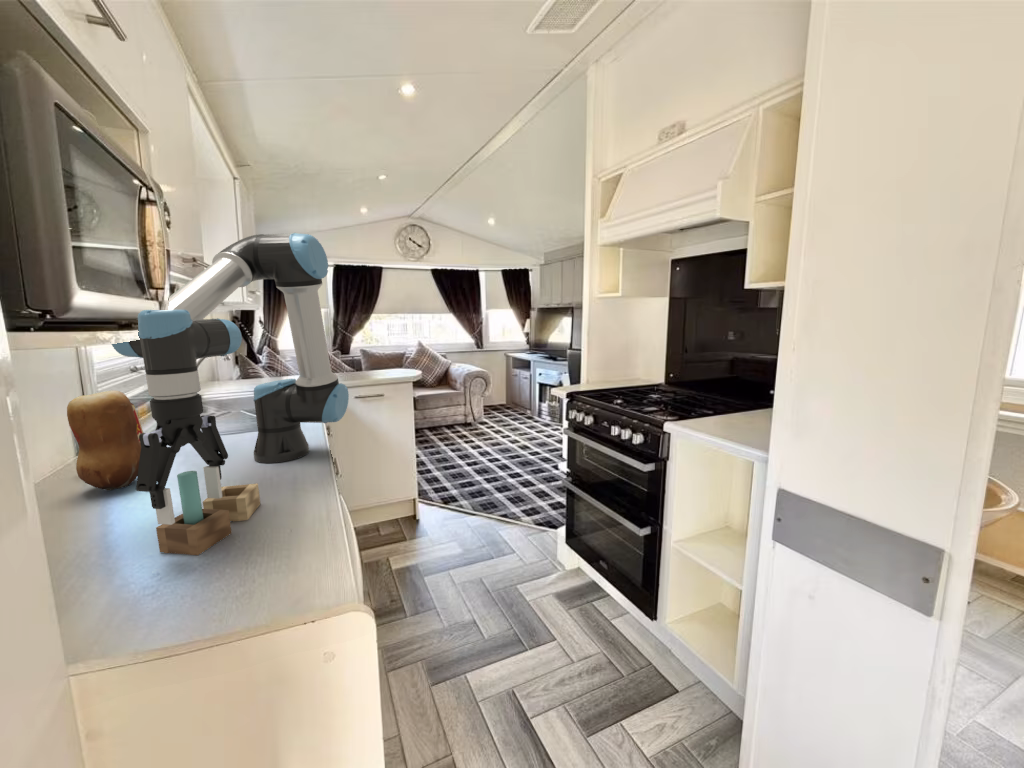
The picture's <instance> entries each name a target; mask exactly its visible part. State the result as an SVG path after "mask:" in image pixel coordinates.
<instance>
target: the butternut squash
mask: <svg viewBox="0 0 1024 768" xmlns="http://www.w3.org/2000/svg"><path fill="white" fill-rule="evenodd" d="M128 398H129V397H128V396H127V395H126V394H125V393H124V392H122V391H120V390H107V391H102V392H97V393H96V392H95V393H91V394H89V395H87V394H86V395H85V394H84V395H80V396H77V397H75V398H73V399H71V400H70V401H69V402H68V404H67V407H66V417H67V422H68V426H69V428H70V430H71V432H72V434H73V436H74V438H75V440H76V442H77V445H78V454H77V458H76V463H75V465H76V466H75V470H76V473H77V476H78V478H79V479H80V480H81V481H83V483H85V484H87V485H89V486H91V487H94V488H96V489H99V490H104V491H107V492H109V491H114V490H117V489H118V490H119V489H123V488H127V487H129V486H130V485H132V483H133V482H134V481H136V480H137V475H138V467H139V460H140V452H141V444H140V442H139V439H138V435H137V422H136V418H135V414H134V411H133V407H132V405H131V400H130V398H129V399H128Z"/></svg>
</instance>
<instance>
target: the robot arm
mask: <svg viewBox="0 0 1024 768" xmlns="http://www.w3.org/2000/svg"><path fill="white" fill-rule="evenodd" d="M211 261H212V262H211V264H210V265H209V266H207V267H206V268H205V269H204V270H202V271H200V272H199V273H198V274H197V275H196V276H194V277H192V279H189V280H188V281H187V282H186V283H185V284H184V285H183V286H181V287H180V288H179V289H177V290H176V291H175V292H174V293H172V294H171V295H170V296H168V297H169V306H168V310H152V309H144V310H140V313H137V320H138V331H139V332H138V336H139V338H140V340H136V341H130V342H123V343H117V344H111V346H112V347H113V349H114V350H115V351H116V352H117V353H118V354H119V355H122V356H124V357H127V358H140V359H143V363H144V364H143V365H144V371H145V377H146V379H145V380H146V385H147V391H148V396H150V397H152V398H151V399H150V400H149V404H150V412H151V417H152V419H153V420H154V421H155V422H156V427H155V430H153V431H151V432H143V433H141V434H140V435H139V439H140V444H141V452H140V460H139V467H138V475H137V477H136V483H135V484H136V486H135V490H136V491H137V492H143V493H144V492H145V493H149V496H150V504H151V507H152V509H153V510H155V514H156V519H157V525H162V524H168V525H172V524H174V523H175V513H174V512H175V511H174V506H173V500H172V492H171V488H169V487H166V486H167V482H168V480H169V477H170V474H171V470H172V469H173V468H172V467H173V464H174V461H175V458H176V455H177V454H178V453H179V452H180V451H181V448H182V447H184V446H186V445H188V444H190V446H191V447H192V448H193V450H194V451H196V452H197V454H198V455H199V457H200V458H201V459H202V460H203V461H204V463H205V464H206V465H205V466H203V468H202V469H203V475H204V481H205V489H206V496H207V497H206V498H217V499H220V498H222V489H221V487H222V483H221V480H222V470H221V466H224V465H226V460H227V459H228V458H229V454H228V452H227V449H226V447H225V445H224V442H223V439H222V437H221V435H220V432H219V430H218V427H217V421H216V420H217V419H216V416H215V415H202V414H203V413H204V405H203V398H202V395H201V394H200V393H199V392H200V391H201V383H200V382H201V381H200V376H199V370H198V361H197V360H199V359H206V358H207V359H208V358H214V357H224V356H227V355H230V354H233V353H235V352H237V350H239V348H240V347H241V345H242V341H243V339H242V338H243V336H242V332H241V330H240V328H239V327H238V326H237V324H236V323H234V322H233V321H231V320H228V319H225V318H224V319H223V318H222V319H221V318H218V317H217V318H209V319H207V316H208V315H210V314H211V313H212V312H213V311H214V310H215V309H216V308H218V306H219V305H221V304H222V303H224V302H225V300H227V298H229V297H230V296H231V295H232V294H233V293H234V292H236V290H237V289H238V288H246V287H247V286H249V285H250V284H251V283H252V282H255V281H260V280H274V282H275V287H276V288H277V289H278V290H279V291H280V292H282V293H283V295H284V296H283V297H284V301H285V305H286V306H285V307H286V311H287V316H288V321H289V327H290V331H291V337H292V343H293V346H294V352H295V358H296V362H297V368H298V373H299V377H298V378H297V379H296V378H286V379H278V380H274V381H268V382H263V383H261V384H258V385H256V386H255V387H254V388H253V403H254V409H255V418H256V419H255V420H256V427H257V436H256V440H255V446H254V449H253V459H254V461H255V462H257V463H262V464H263V463H264V464H274V463H283V462H289V461H293V460H296V459H299V458H302V457H304V456H306V455H308V454H309V453H310V447H309V446H310V445H309V442H308V441H307V439H306V436H305V434H304V432H303V430H302V426H301V423H306V424H307V423H310V424H311V423H313V424H315V423H321V424H327V423H337V422H339V421H341V420H342V419H343V417H344V416H345V414H346V413H347V410H348V406H349V395H350V394H349V389H348V387H347V385H346V384H344V383H342V382H341V383H340V381H339V378H338V374H336V373H334V372H333V371H332V367H331V362H330V356H329V349H328V345H327V344H328V343H327V337H326V331H325V325H324V321H323V315H322V309H321V303H320V297H319V289H320V288H321V287H322V286H323V280H322V279H324V278H326V277H327V275H328V272H329V270H328V268H329V262H328V257H327V253H326V251H325V249H324V247H323V245H322V243H320V241H319V240H318V239H317V238H316V237H315V236H313V235H311V234H308V233H296V232H294V233H275V234H273V233H272V234H269V233H268V234H254V235H249V236H246V237H244V238H242V239H239V240H237V241H236V242H233V243H232V244H230V245H228V246H227V247H225V248H224V249H222V250H220V251H219V252H218V253H217V254H215V255H214V256H213V258H212V259H211Z"/></svg>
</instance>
